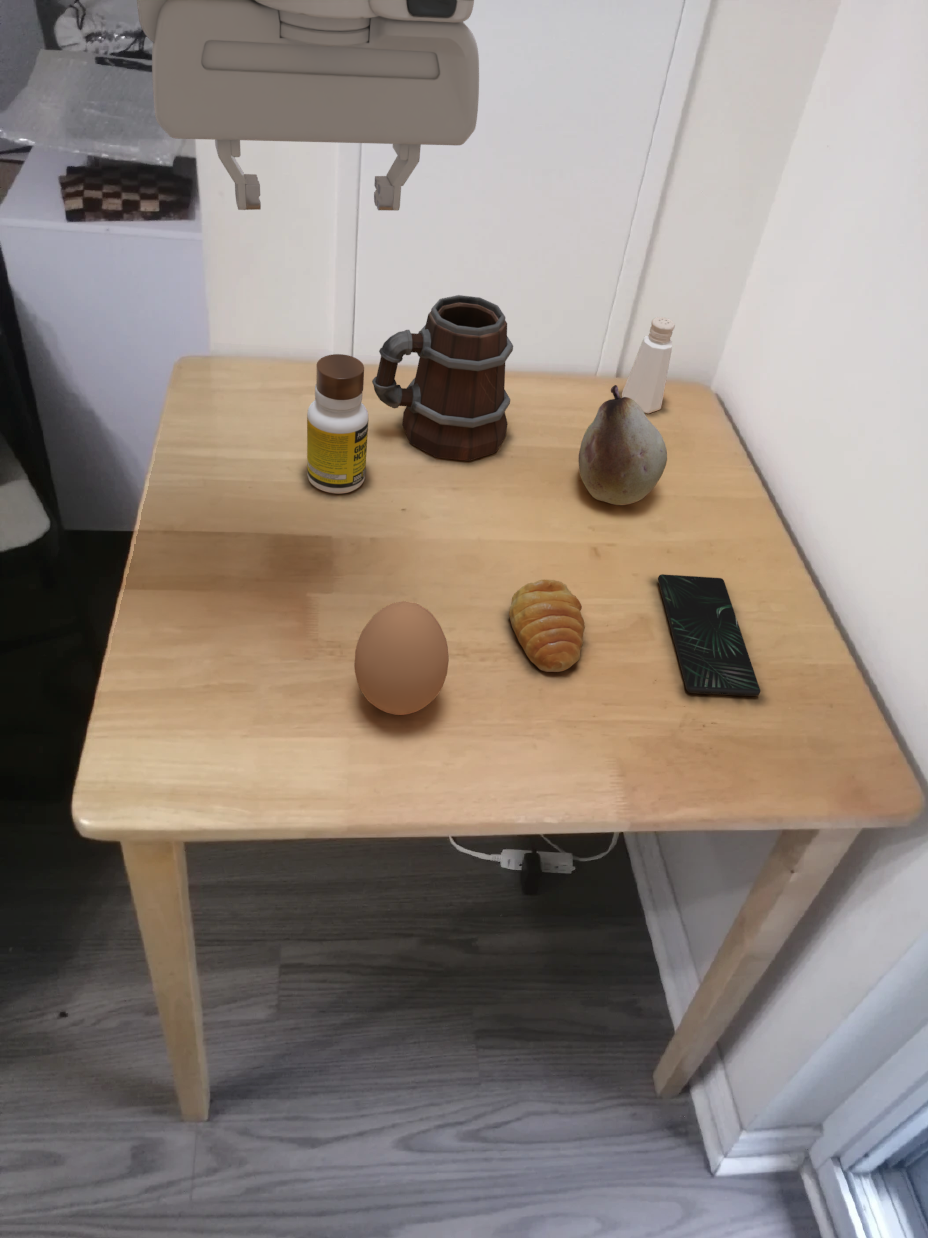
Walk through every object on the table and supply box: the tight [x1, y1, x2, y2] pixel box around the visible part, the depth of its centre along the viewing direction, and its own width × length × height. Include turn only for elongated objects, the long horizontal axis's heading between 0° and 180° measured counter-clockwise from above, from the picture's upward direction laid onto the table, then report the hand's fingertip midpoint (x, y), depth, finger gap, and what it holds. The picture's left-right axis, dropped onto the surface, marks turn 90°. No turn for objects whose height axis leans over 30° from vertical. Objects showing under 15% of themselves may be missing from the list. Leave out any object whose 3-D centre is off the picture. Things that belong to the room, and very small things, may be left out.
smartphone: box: [657, 573, 761, 697], centre depth 89 cm, size 7×1×15 cm
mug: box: [371, 294, 514, 462], centre depth 103 cm, size 16×12×15 cm
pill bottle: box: [306, 384, 369, 494], centre depth 96 cm, size 6×6×11 cm
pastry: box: [508, 579, 586, 673], centre depth 85 cm, size 9×7×4 cm
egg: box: [353, 600, 450, 716], centre depth 76 cm, size 8×8×11 cm
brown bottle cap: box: [315, 353, 365, 400], centre depth 92 cm, size 5×5×2 cm
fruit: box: [578, 384, 668, 506], centre depth 100 cm, size 10×9×12 cm
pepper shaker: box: [621, 316, 676, 414], centre depth 115 cm, size 5×5×11 cm
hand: (318, 207), depth 64 cm, fingers open, 8 cm apart
